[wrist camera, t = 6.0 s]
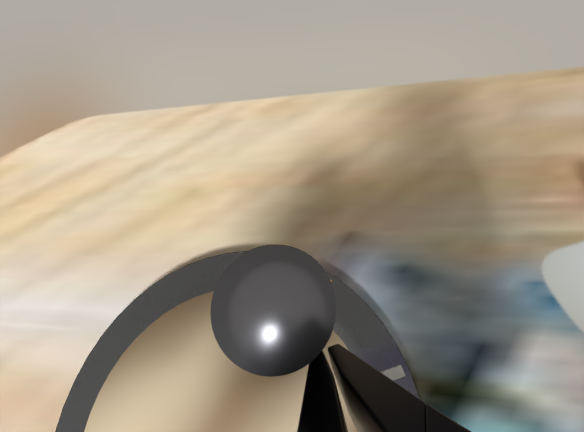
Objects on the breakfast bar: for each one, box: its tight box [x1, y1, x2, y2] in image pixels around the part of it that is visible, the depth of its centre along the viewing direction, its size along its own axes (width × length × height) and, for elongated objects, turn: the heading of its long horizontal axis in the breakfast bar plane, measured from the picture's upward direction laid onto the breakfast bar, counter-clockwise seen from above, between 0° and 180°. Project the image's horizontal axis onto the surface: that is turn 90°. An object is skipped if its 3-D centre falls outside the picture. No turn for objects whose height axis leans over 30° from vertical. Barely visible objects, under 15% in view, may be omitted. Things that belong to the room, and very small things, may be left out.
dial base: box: [55, 251, 419, 432], centre depth 16 cm, size 21×21×1 cm
